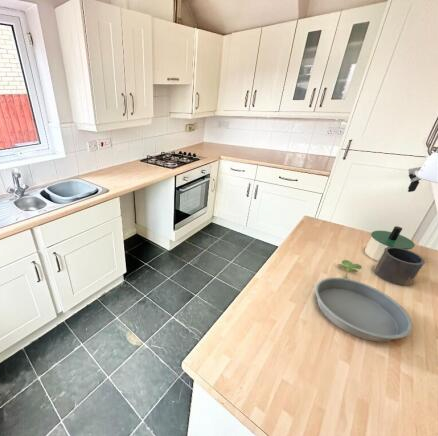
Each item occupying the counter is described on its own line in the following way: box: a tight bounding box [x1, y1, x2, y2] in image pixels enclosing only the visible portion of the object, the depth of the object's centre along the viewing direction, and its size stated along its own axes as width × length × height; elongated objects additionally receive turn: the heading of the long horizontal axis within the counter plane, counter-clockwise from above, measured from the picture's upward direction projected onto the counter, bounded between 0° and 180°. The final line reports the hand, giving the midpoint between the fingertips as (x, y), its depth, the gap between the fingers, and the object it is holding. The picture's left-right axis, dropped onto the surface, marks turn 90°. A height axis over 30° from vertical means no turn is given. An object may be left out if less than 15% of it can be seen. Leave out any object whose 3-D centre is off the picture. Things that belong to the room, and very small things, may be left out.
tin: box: [364, 235, 412, 262], centre depth 104 cm, size 13×13×8 cm
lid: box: [370, 225, 416, 250], centre depth 101 cm, size 14×14×7 cm
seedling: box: [337, 259, 362, 279], centre depth 96 cm, size 7×8×6 cm
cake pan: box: [315, 277, 414, 343], centre depth 79 cm, size 25×25×4 cm
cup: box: [373, 247, 426, 286], centre depth 93 cm, size 11×11×10 cm
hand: (426, 195), depth 93 cm, fingers open, 9 cm apart
